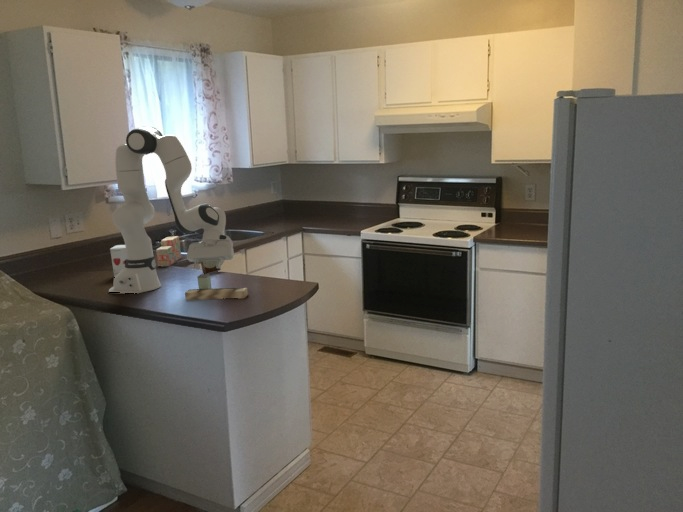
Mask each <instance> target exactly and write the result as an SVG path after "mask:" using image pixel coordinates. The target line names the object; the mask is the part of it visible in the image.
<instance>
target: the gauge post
mask: <svg viewBox="0 0 683 512" xmlns="http://www.w3.org/2000/svg"><path fill="white" fill-rule="evenodd" d="M197 285H198V289H213V287H212V280H211V273H209V274H203V273H202V274H200V275H198V276H197Z"/></svg>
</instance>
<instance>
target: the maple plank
mask: <svg viewBox="0 0 683 512" xmlns="http://www.w3.org/2000/svg"><path fill="white" fill-rule="evenodd" d="M184 295H185V298H184V299H185V301H188V300H189V301H192V300H195V299H199V300H226V299H225V298H238V299H245V298H246V297H247V296H248V295H249V291H248V287H230V288H229V287H228V288H227V287H225V288H212V289H199V288H193V289H191V288H190V289H188V290H186V291H185V292H184ZM223 298H224V299H223ZM195 301H196V300H195Z"/></svg>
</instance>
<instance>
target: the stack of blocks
mask: <svg viewBox="0 0 683 512" xmlns="http://www.w3.org/2000/svg"><path fill="white" fill-rule="evenodd" d="M160 244H161V246H160V247H158V248H156V252H155V253H156V261H157V267H158V266H161V267H170V266H172V265H173V264H174V263H176V262H177V261H178V260H180V259H181V258H182V257H183V256H182V252H181V243H180V236H179V235H176V236H175V235H173V236H172V235H171V236H167V237H165V238H163V239H161V241H160Z"/></svg>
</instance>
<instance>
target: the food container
mask: <svg viewBox="0 0 683 512" xmlns="http://www.w3.org/2000/svg"><path fill="white" fill-rule="evenodd" d="M219 261H220V260H217V261H200V264H201V265H200V267H201V268H202V269H201V270H202V274H203V273H204V274H208V273H209V274H212V273H215V272H220V271H221V270H222V269H221V268H222V267H221V268H218V269H217V268H216V264H217V263H219Z"/></svg>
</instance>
